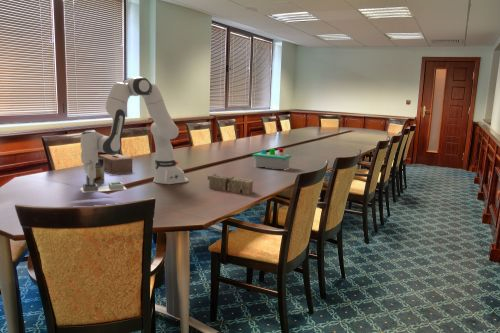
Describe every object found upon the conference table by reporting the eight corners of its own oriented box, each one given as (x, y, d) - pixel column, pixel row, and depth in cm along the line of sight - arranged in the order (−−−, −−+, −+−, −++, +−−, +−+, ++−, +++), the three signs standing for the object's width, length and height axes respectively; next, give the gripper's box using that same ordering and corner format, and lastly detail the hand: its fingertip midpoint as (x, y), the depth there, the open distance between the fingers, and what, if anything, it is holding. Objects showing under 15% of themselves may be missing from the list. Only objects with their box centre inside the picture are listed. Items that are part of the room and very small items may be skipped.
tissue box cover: (132, 172, 296) (132, 158, 294) (112, 174, 287) (112, 160, 285) (118, 166, 315) (117, 153, 313) (99, 168, 306) (98, 154, 304)
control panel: (259, 144, 343) (293, 148, 331) (258, 164, 346) (292, 168, 334) (251, 146, 329) (286, 150, 317) (250, 167, 332) (285, 171, 320)
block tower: (254, 193, 249) (213, 185, 263) (255, 180, 248) (214, 172, 261) (248, 196, 242) (206, 187, 256) (248, 182, 241) (207, 174, 254)
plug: (93, 188, 237) (93, 173, 235) (94, 190, 233) (94, 174, 232) (86, 189, 235) (85, 173, 233) (87, 190, 232) (86, 174, 230)
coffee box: (88, 185, 250) (87, 159, 248) (89, 183, 256) (88, 157, 254) (104, 185, 253) (103, 159, 250) (104, 182, 259) (104, 157, 256)
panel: (122, 187, 249) (122, 180, 248) (127, 191, 238) (127, 185, 238) (80, 190, 237) (79, 183, 237) (82, 195, 227) (82, 188, 226)
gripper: (98, 162, 224) (99, 186, 226) (93, 156, 241) (93, 179, 244) (86, 162, 221) (86, 187, 223) (81, 156, 238) (82, 180, 241)
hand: (90, 183), depth 234 cm, fingers closed on plug, 4 cm apart
